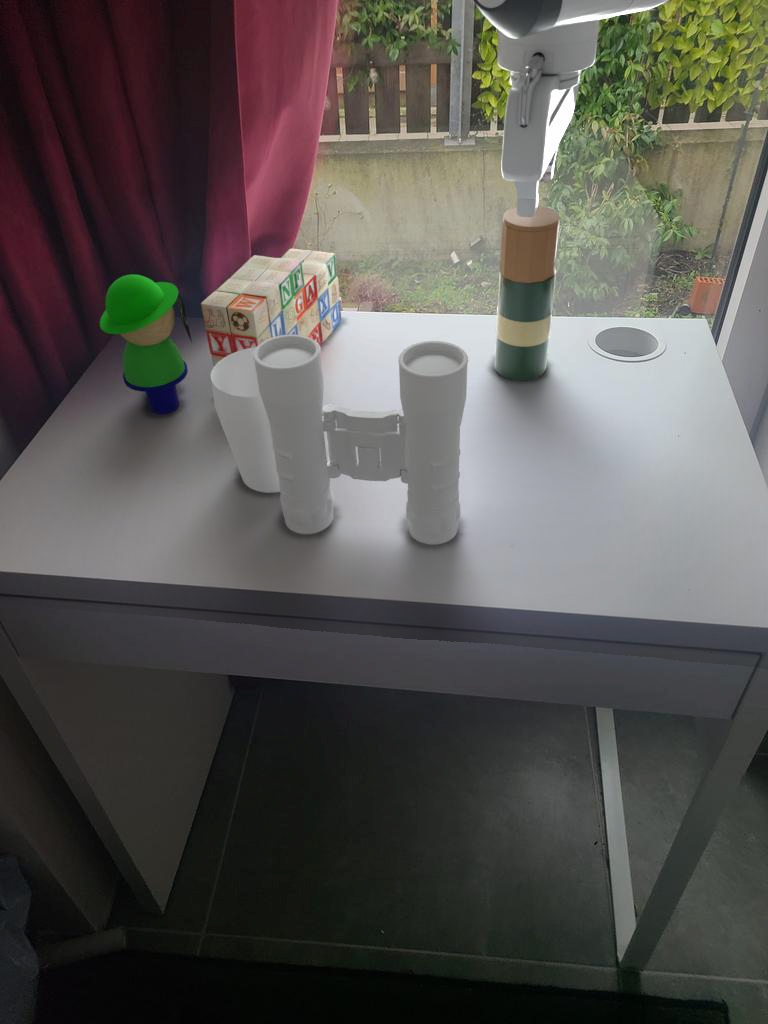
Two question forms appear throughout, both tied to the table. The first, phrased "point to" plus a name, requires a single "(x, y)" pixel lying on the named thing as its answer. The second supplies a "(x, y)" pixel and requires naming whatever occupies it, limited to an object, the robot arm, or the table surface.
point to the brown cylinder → (529, 245)
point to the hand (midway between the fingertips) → (535, 196)
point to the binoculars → (366, 434)
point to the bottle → (523, 328)
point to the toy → (147, 337)
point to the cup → (245, 420)
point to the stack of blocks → (273, 302)
